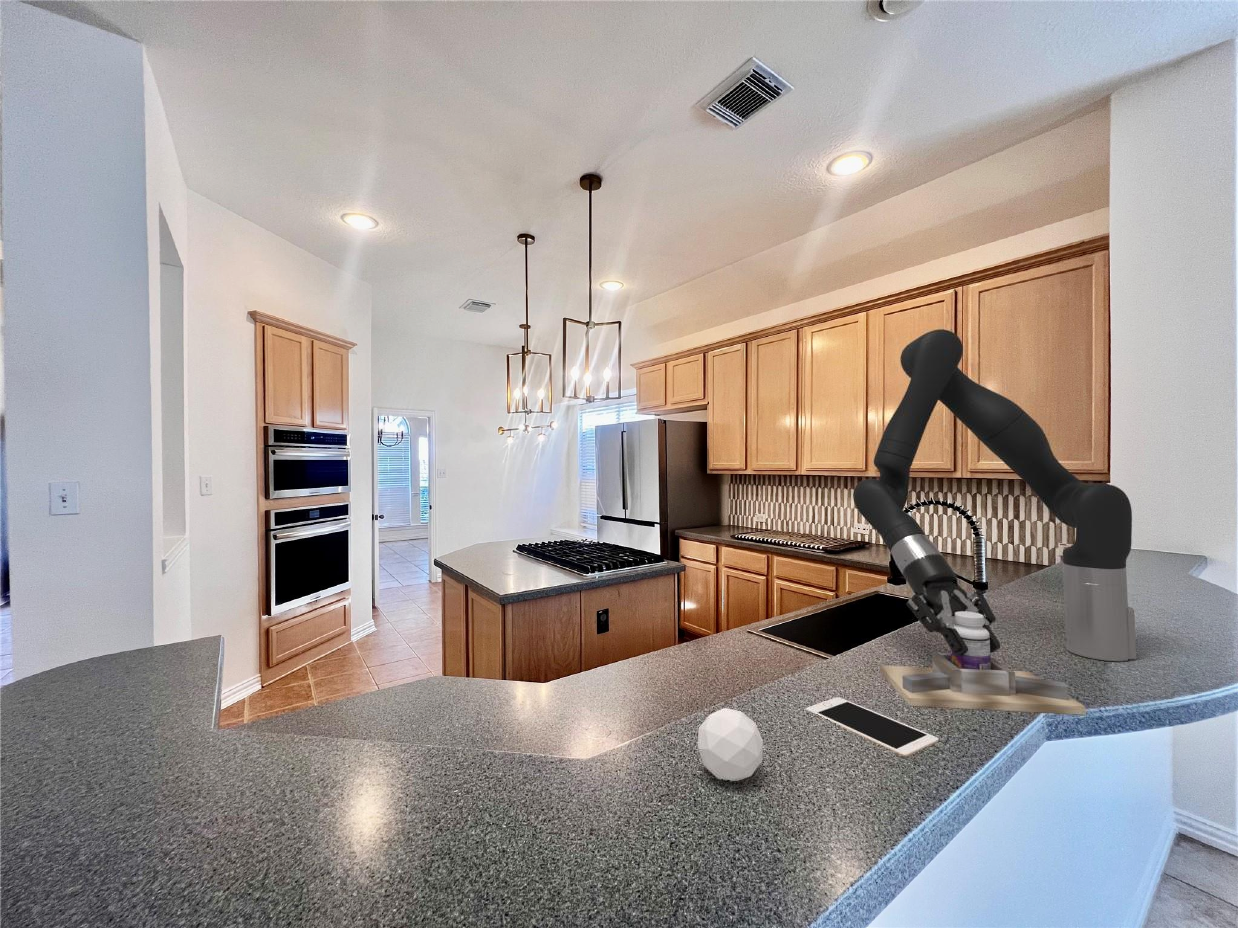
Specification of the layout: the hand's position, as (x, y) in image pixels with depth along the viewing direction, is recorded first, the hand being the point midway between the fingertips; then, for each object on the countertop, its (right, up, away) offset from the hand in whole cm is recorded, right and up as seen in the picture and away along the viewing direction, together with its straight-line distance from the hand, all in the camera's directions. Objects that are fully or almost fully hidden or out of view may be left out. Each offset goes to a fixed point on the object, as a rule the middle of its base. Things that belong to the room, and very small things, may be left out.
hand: (979, 651), depth 85 cm
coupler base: (0, -7, +1) cm, 7 cm away
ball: (-45, -8, -21) cm, 50 cm away
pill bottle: (0, -4, +2) cm, 5 cm away
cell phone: (-22, -8, -9) cm, 25 cm away
